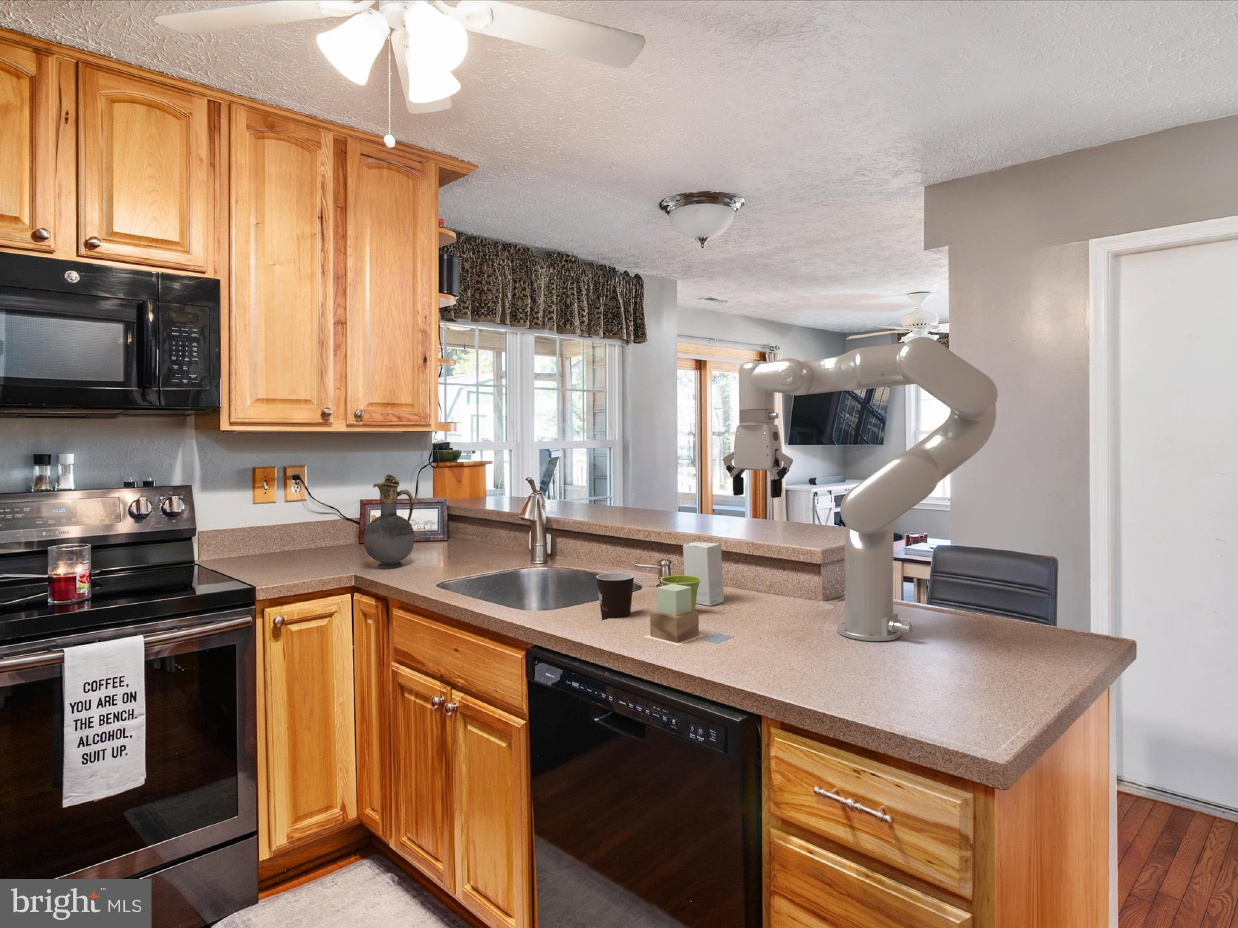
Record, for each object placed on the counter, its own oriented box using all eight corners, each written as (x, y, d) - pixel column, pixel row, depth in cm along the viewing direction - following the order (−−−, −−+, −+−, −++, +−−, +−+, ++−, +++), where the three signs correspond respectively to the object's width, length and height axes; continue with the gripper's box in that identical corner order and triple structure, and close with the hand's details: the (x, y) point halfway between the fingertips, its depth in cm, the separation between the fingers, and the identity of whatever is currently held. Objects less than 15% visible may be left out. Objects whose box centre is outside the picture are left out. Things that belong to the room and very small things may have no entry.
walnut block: (698, 635, 149) (698, 611, 148) (677, 642, 143) (676, 617, 143) (672, 629, 153) (671, 605, 153) (650, 636, 148) (650, 612, 148)
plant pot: (654, 618, 167) (653, 581, 167) (670, 609, 175) (670, 573, 175) (692, 623, 163) (691, 584, 162) (707, 613, 171) (706, 576, 171)
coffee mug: (630, 625, 161) (630, 580, 161) (593, 623, 163) (592, 579, 163) (639, 612, 173) (639, 570, 172) (604, 611, 175) (603, 569, 174)
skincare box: (724, 602, 181) (724, 543, 180) (709, 607, 177) (708, 546, 176) (698, 597, 187) (697, 540, 186) (682, 601, 183) (682, 542, 182)
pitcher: (359, 570, 232) (356, 476, 230) (402, 560, 249) (400, 472, 247) (384, 572, 227) (381, 476, 225) (427, 562, 244) (424, 472, 242)
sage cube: (691, 611, 148) (691, 586, 148) (676, 616, 145) (675, 591, 144) (672, 607, 152) (672, 583, 152) (657, 612, 148) (656, 587, 148)
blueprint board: (745, 642, 147) (744, 636, 147) (696, 661, 136) (696, 654, 136) (668, 624, 161) (668, 619, 161) (619, 640, 150) (619, 635, 150)
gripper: (800, 417, 156) (800, 497, 157) (733, 419, 168) (734, 493, 169) (782, 417, 151) (782, 499, 152) (714, 419, 163) (714, 495, 164)
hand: (757, 496), depth 160 cm, fingers open, 9 cm apart
